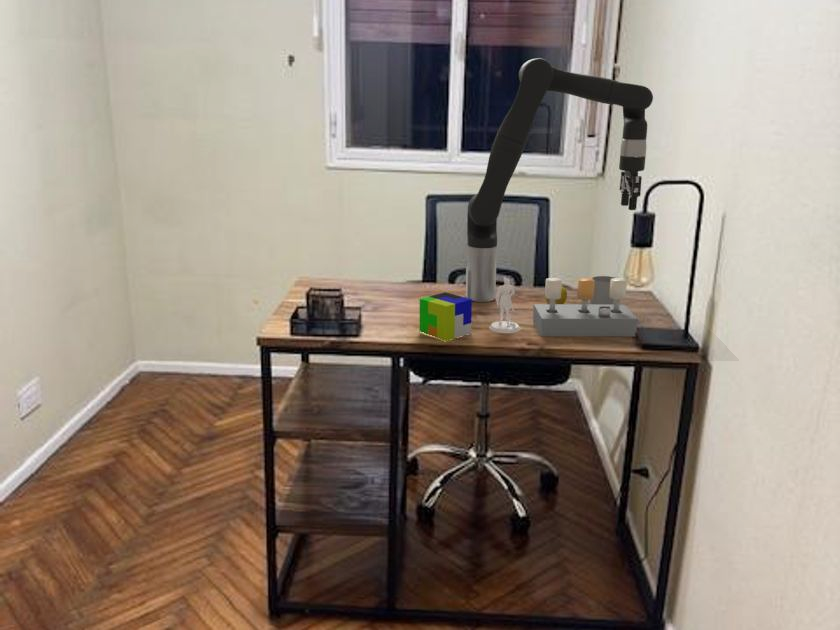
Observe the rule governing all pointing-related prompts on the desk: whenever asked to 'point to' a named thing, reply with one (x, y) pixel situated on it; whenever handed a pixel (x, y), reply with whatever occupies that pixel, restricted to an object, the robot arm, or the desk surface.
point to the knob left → (553, 291)
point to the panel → (583, 321)
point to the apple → (562, 299)
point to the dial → (604, 311)
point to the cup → (602, 290)
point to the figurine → (507, 303)
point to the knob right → (617, 291)
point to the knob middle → (585, 291)
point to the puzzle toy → (445, 316)
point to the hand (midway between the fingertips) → (628, 207)
